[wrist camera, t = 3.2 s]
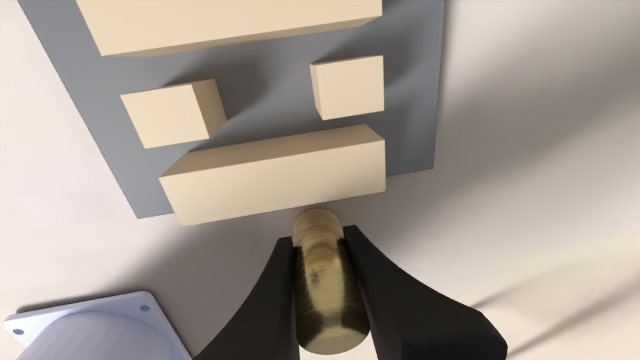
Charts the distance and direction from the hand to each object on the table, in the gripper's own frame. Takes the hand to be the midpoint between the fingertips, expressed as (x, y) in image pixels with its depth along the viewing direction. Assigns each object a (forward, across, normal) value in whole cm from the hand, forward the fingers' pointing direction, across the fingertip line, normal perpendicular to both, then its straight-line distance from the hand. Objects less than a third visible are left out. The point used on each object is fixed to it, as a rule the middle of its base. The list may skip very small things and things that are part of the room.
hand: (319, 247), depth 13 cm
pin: (+2, 0, 0) cm, 2 cm away
